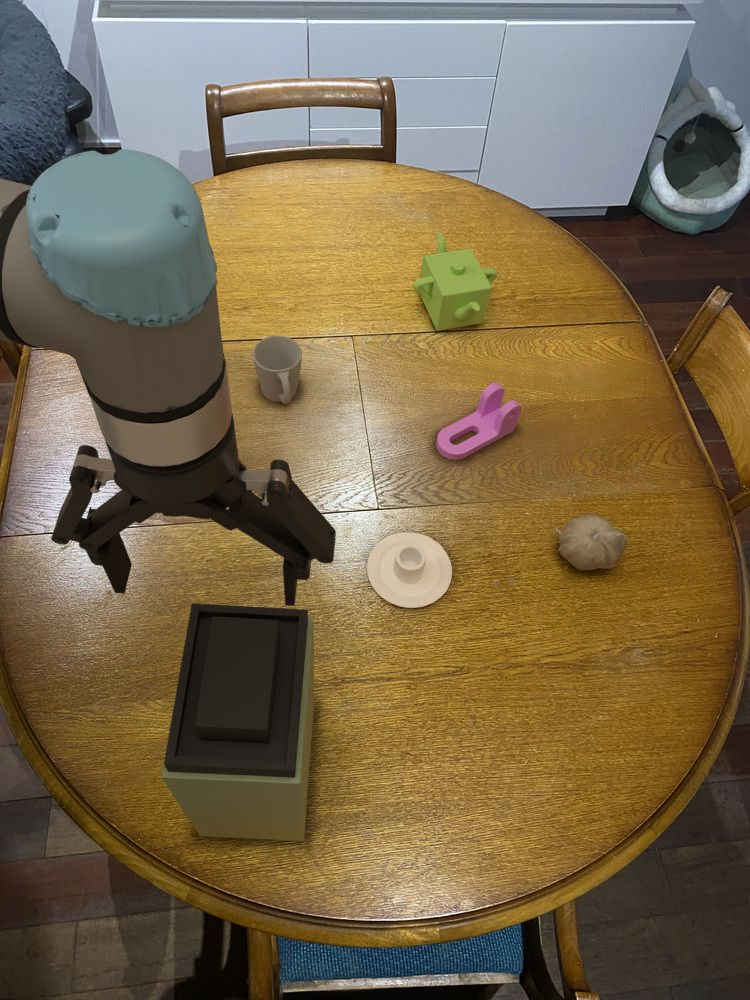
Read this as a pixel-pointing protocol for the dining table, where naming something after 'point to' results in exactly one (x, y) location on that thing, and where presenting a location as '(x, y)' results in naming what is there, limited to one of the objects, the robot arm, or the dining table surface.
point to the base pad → (282, 748)
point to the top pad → (238, 680)
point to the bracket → (480, 424)
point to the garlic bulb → (591, 542)
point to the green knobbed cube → (454, 287)
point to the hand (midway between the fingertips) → (208, 584)
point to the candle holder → (409, 569)
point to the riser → (253, 786)
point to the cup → (278, 367)
